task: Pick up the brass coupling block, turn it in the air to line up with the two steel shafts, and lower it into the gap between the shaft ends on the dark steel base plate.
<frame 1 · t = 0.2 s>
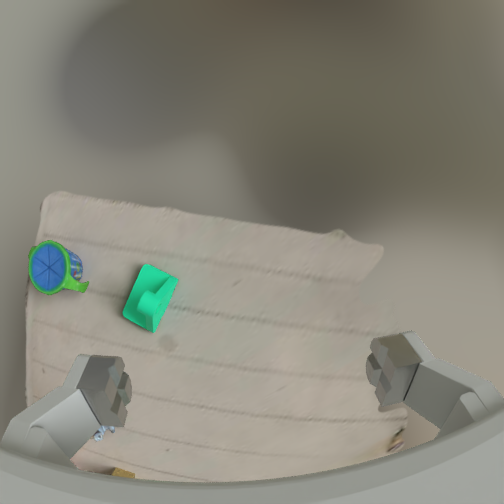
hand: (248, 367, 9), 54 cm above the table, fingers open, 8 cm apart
snack cup: (70, 269, 62), on the table
camera mount: (151, 297, 63), on the table
brake caliper: (97, 413, 59), on the table
coupling block: (125, 477, 57), on the table
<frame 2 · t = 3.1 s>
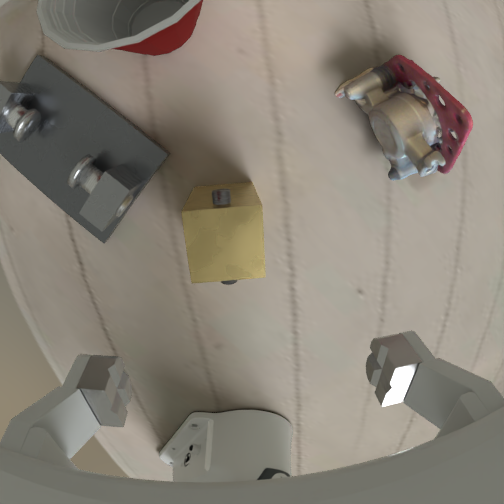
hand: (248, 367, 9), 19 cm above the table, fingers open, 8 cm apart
plastic cup: (161, 24, 20), on the table
shaft stand: (69, 143, 24), on the table
brake caliper: (392, 116, 25), on the table
coupling block: (225, 212, 27), on the table
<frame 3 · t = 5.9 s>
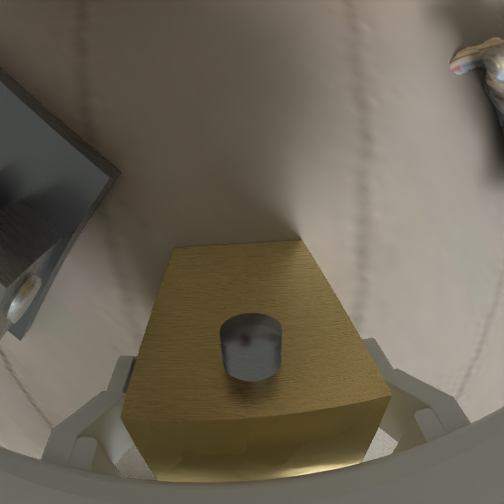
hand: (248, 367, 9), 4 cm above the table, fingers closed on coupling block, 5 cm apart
coupling block: (241, 299, 13), on the table, touching gripper
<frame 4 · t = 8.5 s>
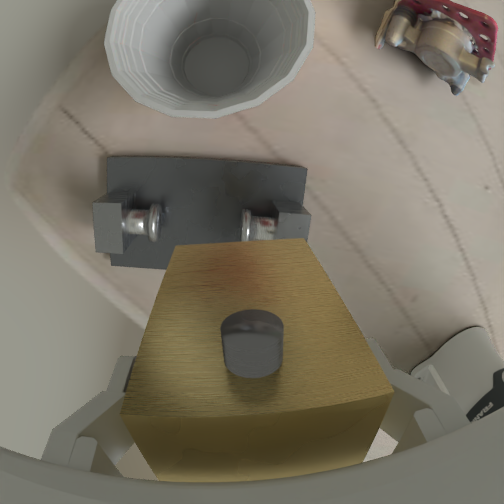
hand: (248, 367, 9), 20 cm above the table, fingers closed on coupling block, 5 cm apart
plastic cup: (214, 64, 23), on the table
shaft stand: (202, 214, 27), on the table
brake caliper: (422, 43, 22), on the table
coupling block: (242, 297, 13), point 16 cm above the table, touching gripper
when the fingers open (7 cm above the table, at t = 11.2 s): coupling block drops 1 cm, resting on shaft stand.
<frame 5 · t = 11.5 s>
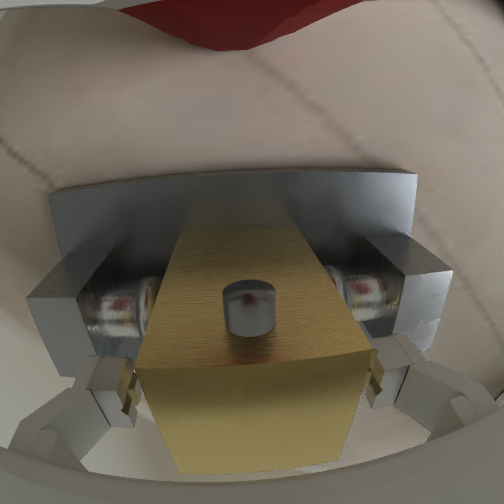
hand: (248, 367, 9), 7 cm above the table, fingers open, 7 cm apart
shaft stand: (238, 272, 15), on the table
coupling block: (241, 282, 14), point 1 cm above the table, touching shaft stand
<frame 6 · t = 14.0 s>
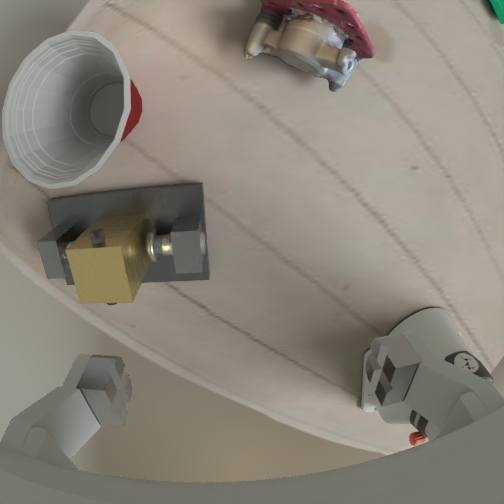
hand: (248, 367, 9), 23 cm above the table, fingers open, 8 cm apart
plastic cup: (113, 108, 26), on the table
shaft stand: (127, 235, 31), on the table
brake caliper: (303, 40, 25), on the table
coupling block: (124, 239, 30), point 1 cm above the table, touching shaft stand
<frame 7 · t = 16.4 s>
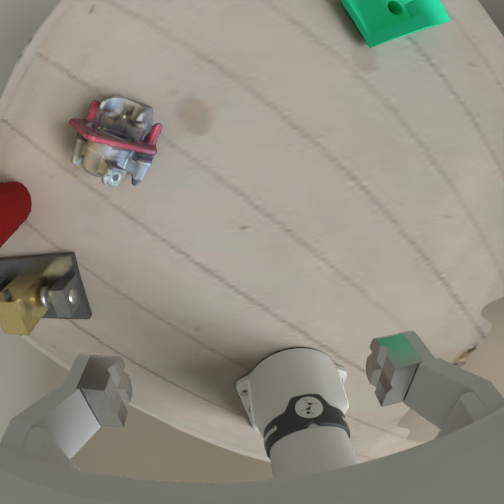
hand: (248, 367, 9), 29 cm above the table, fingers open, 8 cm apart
plastic cup: (16, 200, 34), on the table
shaft stand: (38, 286, 39), on the table
camera mount: (385, 13, 28), on the table
brake caliper: (124, 136, 33), on the table
coupling block: (35, 289, 38), point 1 cm above the table, touching shaft stand
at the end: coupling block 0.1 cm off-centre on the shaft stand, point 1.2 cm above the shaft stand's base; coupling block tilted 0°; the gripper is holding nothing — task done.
